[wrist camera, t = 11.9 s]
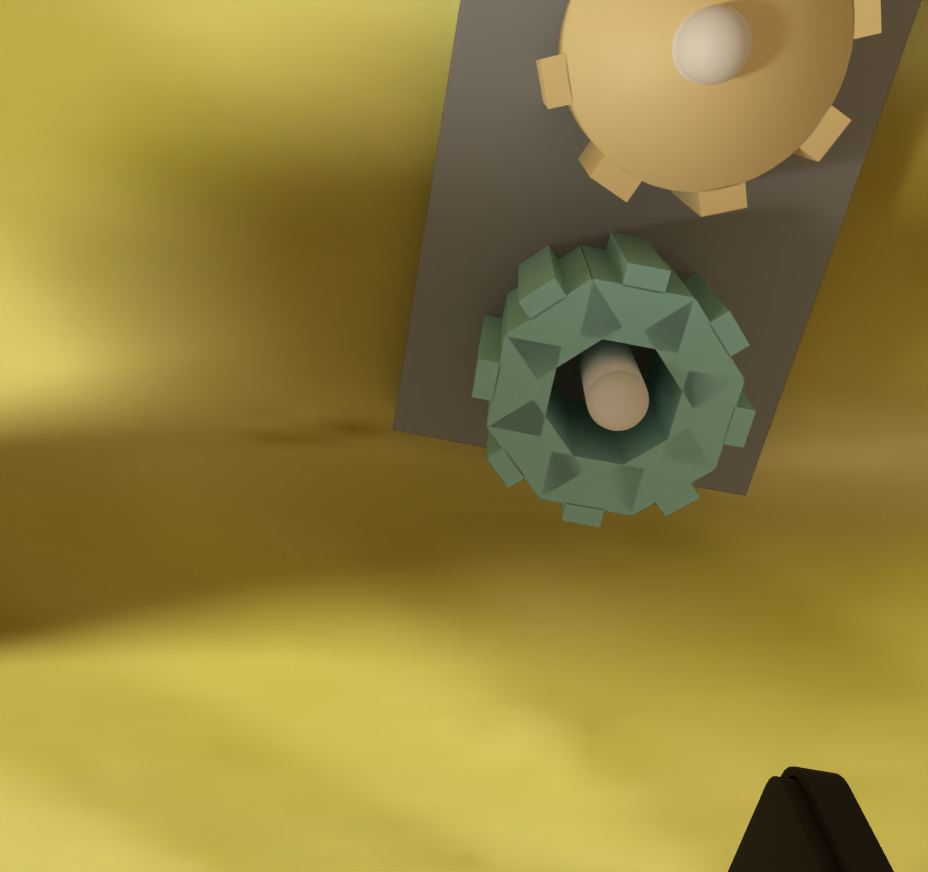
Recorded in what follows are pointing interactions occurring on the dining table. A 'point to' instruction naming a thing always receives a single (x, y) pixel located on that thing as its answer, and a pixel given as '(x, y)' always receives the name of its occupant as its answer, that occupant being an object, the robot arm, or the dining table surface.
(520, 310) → the teal gear
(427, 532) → the dining table surface
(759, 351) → the gear board
